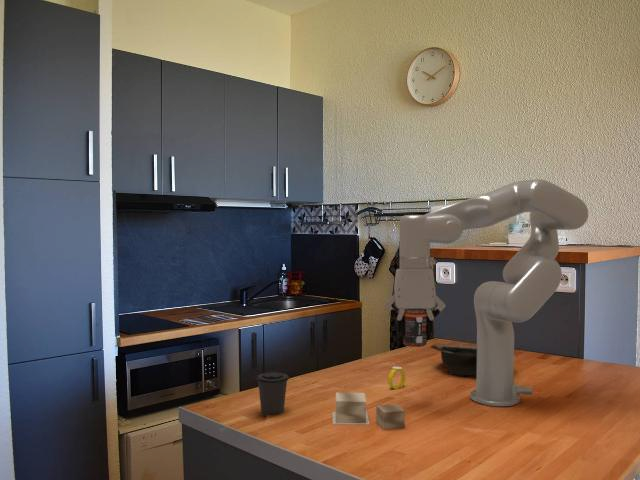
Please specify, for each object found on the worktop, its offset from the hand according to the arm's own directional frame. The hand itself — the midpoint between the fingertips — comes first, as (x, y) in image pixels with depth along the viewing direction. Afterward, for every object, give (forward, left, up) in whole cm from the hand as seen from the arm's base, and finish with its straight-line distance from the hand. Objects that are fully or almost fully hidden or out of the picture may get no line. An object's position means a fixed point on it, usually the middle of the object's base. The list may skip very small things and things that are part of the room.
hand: (414, 334), depth 143 cm
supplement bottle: (0, 0, -3) cm, 3 cm away
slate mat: (+14, +8, -19) cm, 25 cm away
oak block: (+7, +14, -18) cm, 24 cm away
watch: (+2, -19, -19) cm, 27 cm away
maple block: (+16, +9, -18) cm, 26 cm away
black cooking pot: (-24, -40, -19) cm, 50 cm away
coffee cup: (+35, +5, -19) cm, 41 cm away
